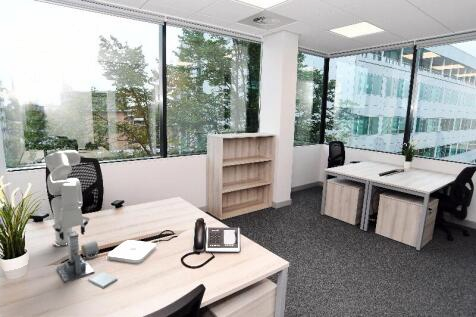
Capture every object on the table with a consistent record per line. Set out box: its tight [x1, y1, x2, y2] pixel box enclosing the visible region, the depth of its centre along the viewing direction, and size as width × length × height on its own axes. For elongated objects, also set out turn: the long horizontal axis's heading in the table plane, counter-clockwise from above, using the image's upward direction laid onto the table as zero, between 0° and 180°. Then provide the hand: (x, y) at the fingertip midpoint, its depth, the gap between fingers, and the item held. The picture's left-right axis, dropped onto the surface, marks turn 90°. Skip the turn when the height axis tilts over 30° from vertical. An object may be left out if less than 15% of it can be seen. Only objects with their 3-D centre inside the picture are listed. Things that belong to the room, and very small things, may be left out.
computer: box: [107, 239, 157, 264], centre depth 173 cm, size 22×22×3 cm
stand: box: [56, 252, 95, 284], centre depth 151 cm, size 18×14×12 cm
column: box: [67, 230, 80, 263], centre depth 149 cm, size 6×4×15 cm, turn 44°
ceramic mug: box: [80, 240, 100, 260], centre depth 168 cm, size 11×8×8 cm
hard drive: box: [87, 271, 118, 289], centre depth 143 cm, size 2×8×12 cm
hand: (72, 236), depth 149 cm, fingers open, 9 cm apart
